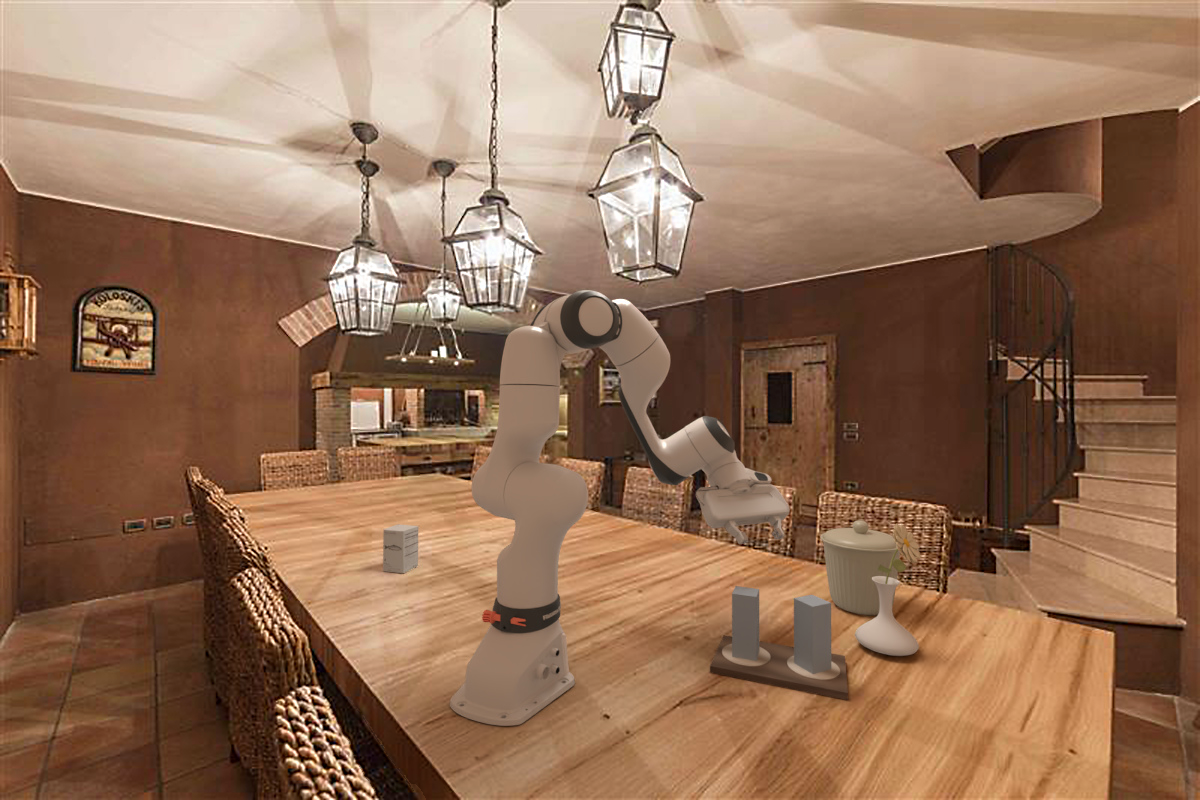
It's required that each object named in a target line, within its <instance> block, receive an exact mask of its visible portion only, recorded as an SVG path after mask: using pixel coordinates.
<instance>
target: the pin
mask: <svg viewBox="0 0 1200 800" xmlns="http://www.w3.org/2000/svg"><path fill="white" fill-rule="evenodd" d="M731 636H732V657H736V658H742V659H747V660H753V661H757V658H758V654H759V641H760V589H759V588H752V587H745V586H739V585H735V587H734V589H733V590H732V593H731Z"/></svg>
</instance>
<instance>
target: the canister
mask: <svg viewBox="0 0 1200 800" xmlns="http://www.w3.org/2000/svg"><path fill="white" fill-rule="evenodd" d="M869 527H870V525H869V523H868V522H866V521H865V520H860V519H858V520H855V521H853V522H852V527H838V528H833V529H829V530H827V531H826V532H823V533H821V535H820V536H819V538H820V540H821V541H822V542H823V549H824V550H823V551H824V552H823V553H824V559H825V569H826V576H827V583H828V590H829V594H830V595H829V596H830V598H831V599H832V602H833V603H834V604H835V606H837V607H838V608H840V609H841V610H844V611H847V612H849V613H851V614H852V613H853V614H857V615H861V616H862V615H863V616H878V614H879V610H880V599H879V593H878V589H877V586H876V584H875V583H874V581H873V580H872V577H875V576H885V577H887V573H886V572H882V571H879V570H878V568H879V566H880V564H881V565H882V566H884V567H886V568H888V569H889V567H890V564H891V561H892V557H893V555H894V553H895V551H896V549H897V547H896V546H897V544H895V542H894V538H893V535H891V534H888V533H886V532H882V531H878V530H873V529H870V528H869ZM900 557H901V553H900V551H897V553H896V555H895V558H894V560H895V559H899V560H900ZM893 562H894V561H893ZM891 570H892V571H891V572H890V573H889V577H891V578H894V579H897V580H898V573H899V572H898V571H897V570H896V569H895V568H894V567H893V565H892V567H891ZM896 589H897V588H896ZM896 589H895V591H894V594H893V600H892V607H893V605H894V601H895V597H896V596H895V595H896Z"/></svg>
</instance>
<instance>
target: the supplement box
mask: <svg viewBox="0 0 1200 800" xmlns="http://www.w3.org/2000/svg"><path fill="white" fill-rule="evenodd" d="M382 540H383V542H382V543H383V545H382V549H383V550H382V551H383V555H382V557H383V558H382V566H383V567H382V571H383V572H389V573H397V574H402V573H404V574H405V572H406V573H407V571H408V572H410V571H412V570H414V569H416V568H418V567H419V525H409V524H400V523H398V524H395V525H392V526H390V527H387V528H383V538H382ZM417 566H418V567H417ZM415 567H416V568H415ZM413 568H414V569H413ZM411 569H412V570H411ZM409 570H410V571H409Z"/></svg>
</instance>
